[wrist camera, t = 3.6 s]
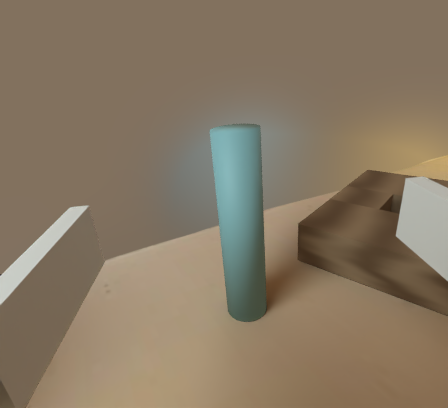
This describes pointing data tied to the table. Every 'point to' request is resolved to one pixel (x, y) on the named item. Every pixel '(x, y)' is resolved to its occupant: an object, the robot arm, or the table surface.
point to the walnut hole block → (371, 241)
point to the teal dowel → (241, 217)
